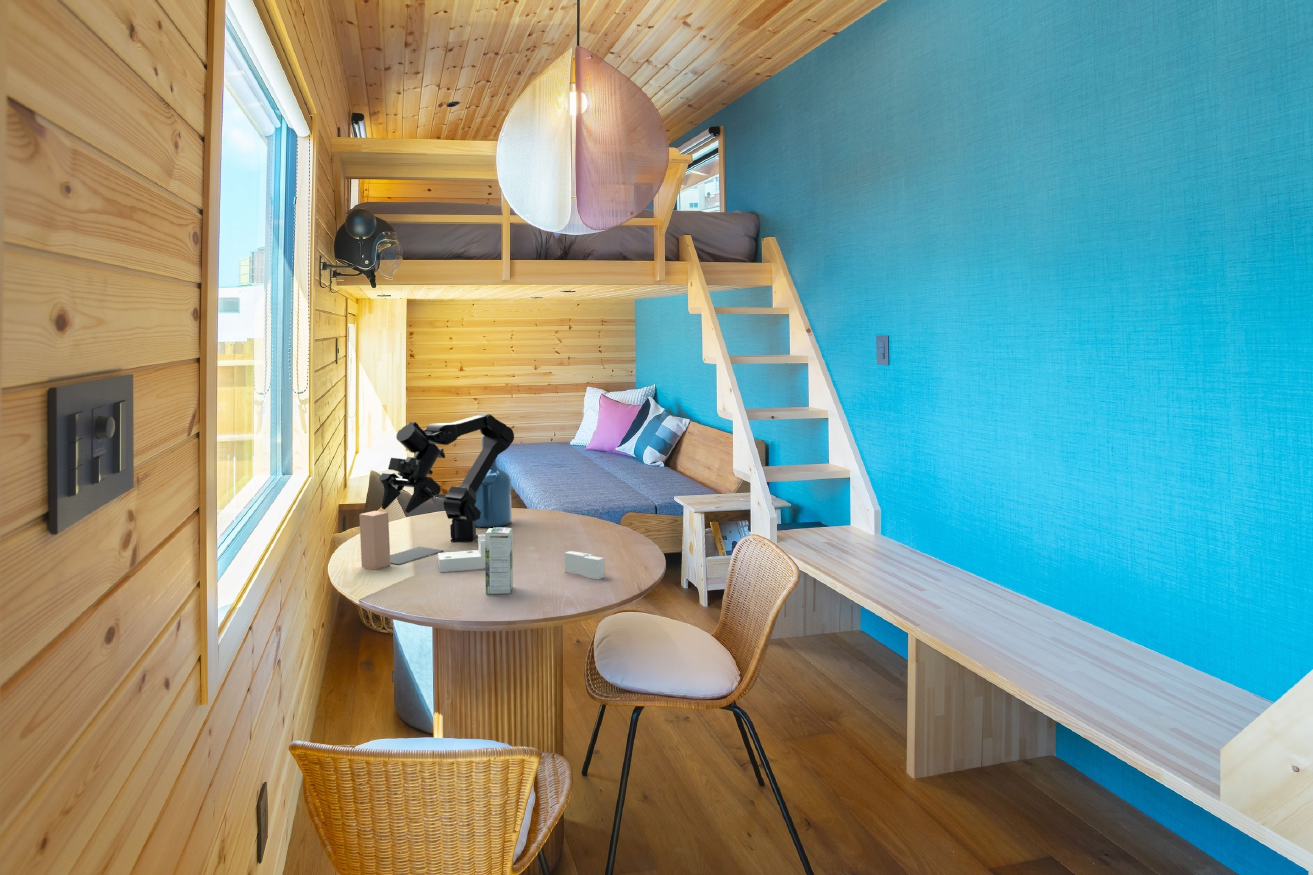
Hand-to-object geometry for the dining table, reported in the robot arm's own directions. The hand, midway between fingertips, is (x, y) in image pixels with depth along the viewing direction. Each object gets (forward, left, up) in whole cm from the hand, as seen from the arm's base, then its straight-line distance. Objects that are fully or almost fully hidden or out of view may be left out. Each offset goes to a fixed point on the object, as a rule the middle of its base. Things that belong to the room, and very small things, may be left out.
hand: (394, 510), depth 218 cm
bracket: (-21, +6, -14) cm, 26 cm away
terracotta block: (+2, +7, -13) cm, 15 cm away
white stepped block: (-53, +12, -14) cm, 56 cm away
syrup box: (-36, +26, -14) cm, 46 cm away
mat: (-3, -3, -13) cm, 14 cm away
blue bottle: (-14, -44, -14) cm, 48 cm away
